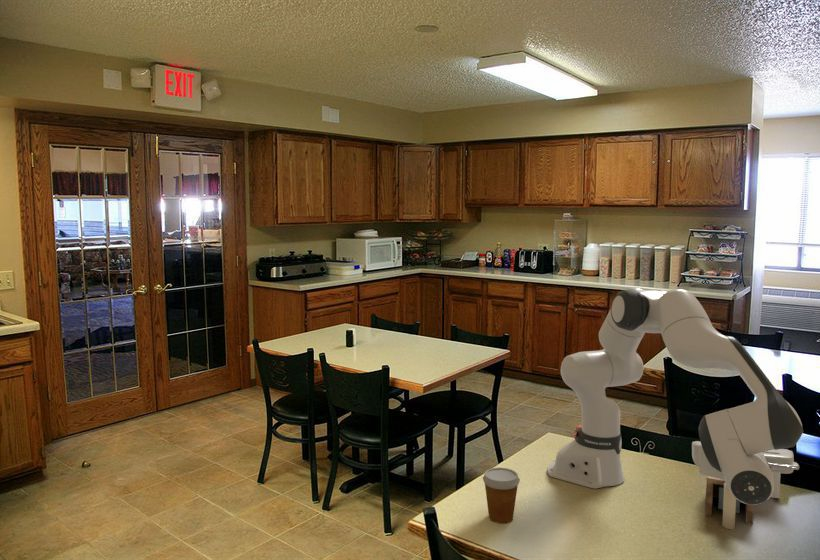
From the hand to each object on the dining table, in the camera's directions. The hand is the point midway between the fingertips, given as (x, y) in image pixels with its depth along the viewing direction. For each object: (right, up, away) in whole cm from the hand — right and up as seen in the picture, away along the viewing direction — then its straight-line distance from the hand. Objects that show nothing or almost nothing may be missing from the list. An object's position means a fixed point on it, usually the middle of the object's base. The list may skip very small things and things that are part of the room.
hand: (738, 447), depth 144 cm
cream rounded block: (+7, -23, +18) cm, 30 cm away
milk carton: (+23, -22, +31) cm, 45 cm away
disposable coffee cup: (-53, -24, +18) cm, 61 cm away
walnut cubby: (+9, -23, +22) cm, 33 cm away
